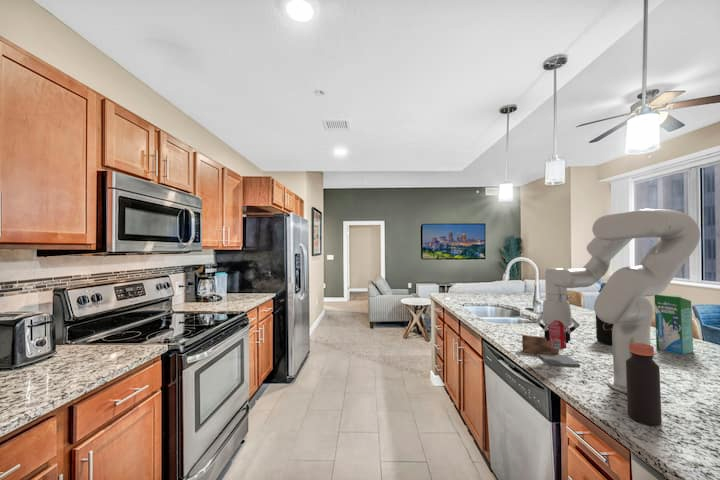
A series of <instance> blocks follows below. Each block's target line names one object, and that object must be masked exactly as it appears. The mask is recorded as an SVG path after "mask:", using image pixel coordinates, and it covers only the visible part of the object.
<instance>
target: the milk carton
mask: <svg viewBox="0 0 720 480" xmlns="http://www.w3.org/2000/svg"><path fill="white" fill-rule="evenodd" d="M653 297H654V298H653V299H654V318H655V319H654V320H655V323H654V324H655V340H656V341H655V345H656V347H655V348H656V349H657V350H660V351H665V352H668V353H673V354H676V355H687V354H691V353H694V339H693V336H694V334H693V315H692V314H693V312H692V300H689V299H686V298H685V297H684V298H683V297H682V296H680V295H676V294H668V295H664V294H663V295H662V294H658V295H654V296H653Z"/></svg>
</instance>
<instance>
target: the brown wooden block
mask: <svg viewBox="0 0 720 480" xmlns="http://www.w3.org/2000/svg"><path fill="white" fill-rule="evenodd" d="M521 338H522V340H521V341H522V342H521V343H522V344H521V345H522V352H523V353H526V354H534V355H538V354H552V355H560V350H558V349H553V348H551V347H550V346H549V345H548V341H547V340H546V338H545V337H544V336H537V335H530V334H529V335H528V334H522V335H521Z"/></svg>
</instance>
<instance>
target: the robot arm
mask: <svg viewBox="0 0 720 480" xmlns="http://www.w3.org/2000/svg"><path fill="white" fill-rule="evenodd" d="M591 230H592V233H593V236H594V237H593V238H592V240H591V241H590V242H589V243H588V244H587V245H586V250H587V253H588V254H589V255H590V256H591V258H590V259H589V261H588V262H587V263H586V264H585V265H584V266H582V267H581V268H580V267H579V268H577V267H576V268H562V267H549V268H548V267H547V268H546V269H545V272H544V274H545V277H544V278H545V279H544V280H545V286H544V287H545V299H543V302H542V313H541V315H540V316H538V317H537V318H536V319H535V323H536V324H537V325H538V326H539V327H540V328H541V329H543V333H544V336H543V337H545V338H546V340H547V341H549V332H548V327H549V325H550V324H551V322H553V321H554V320H560V322H562V323H563V324H564V326H565V328H566V344H569V342H570V341H571V333H572V332H574V331H575V330H576V329H578V328H579V327H580V326H581V325H580V323H579V322H578V321H577V320H575V318H573V317H572V310H571V304H570V301H568V300H572V295H569V294H568V289H577V288H588V287H591V286H593V285H595V284H596V283H598V281H600V280H601V279H602V278H603V277H604V276H605V275H606V274H607V272H608V271H609V268H610V265H611V261H612V259H613V258H614V257H616V255H617V254H619V252H621V251H622V250H623V249H624V248H625V246H626V245H628V244H629V242H631V241H633V239H641V238H642V239H643V238H659V240H658V241H657V243H655V244H654V245H653V246H651V248H649V250H647V252H646V254H645V256H644V257H643V258H642V260H641V261H640V262H639V263H638V264H637V265H635V266H634V265H632V266H624V267H620V268H618V269H617V270H615V271H614V272H613V273H612V274H611V275H610V277H609V278H608V280H607V281H606V283H605V284H604V286H602V287H603V288H602V289H601V291H599V293H598V295H597V296H596V299H595V301H594V304H593V309H594V313H595V316H596V315H597V316H598V318H599V319H601V320H602V321H604V322H606V323H611V324H614V325H613V330H612V345H613V346H612V345H611V346H612V366H613V377H611V378H609V379H607V384H608V386H610V387H611V389H612V388H613V389H614V390H616V391H618V392H621V393H625V394H627V377H626V360H628V359H629V358H630V357H632V354H631V353H630V343H643V344H648V345H651V325H652V320H653V313H654V312H653V311H654V310H653V306H652V304H651V302H650V300H649V299H648V298H647V297H652V296H653V297H654V295H661V294H662V293H663V292H664V291H665V290H666V289H667V287H668V286H669V284H670V283H671V282H672V280H673V279H674V278H675V277H676V275H677V274H678V273H679V271H680V269H682V267H683V265H684V264H685V263H686V261H687V260H688V259H689V258H690V256H691V255H692V254H693V253H694V251H695V250H696V249H697V247H698V244H699V242H700V237H701V232H700V227H699V225H698V223H697V222H696V221H695V219H694V218H693V217H692V216H690V215H689V214H687V213H684V212H683V211H680V210H676V209H664V208H663V209H660V208H658V209H655V208H644V209H638V210H637V209H636V210H630V211H623V212H618V213H612V214H611V213H610V214H606V215H605V214H604V215H602V216H600V217H598V218H597V219H596V220H595V221H594V222H593V225H592V229H591ZM541 321H542V322H543V323H542V322H541ZM572 323H573V325H572Z"/></svg>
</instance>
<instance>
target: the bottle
mask: <svg viewBox="0 0 720 480" xmlns="http://www.w3.org/2000/svg"><path fill="white" fill-rule="evenodd" d="M630 353H631V354H632V357H630V358H629V359H628V360H626V377H627V393H626V397H627V398H626V399H627V401H626V402H627V415H628V417H629V418H630V419H632V420H633V421H634V422H637V423H639V424H643V425H647V426H652V427H654V426H655V427H656V426H657V427H658V426H660V425H662V422H663V421H662V418H663V417H662V397H661V394H662V393H661V373H660V371H661V370H660V366H659V365H658V363H657V362H656V361H654V360H653V358H654V357H655V347H654V346H653V345H651V344H650V345H648V344H643V343H630Z"/></svg>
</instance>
